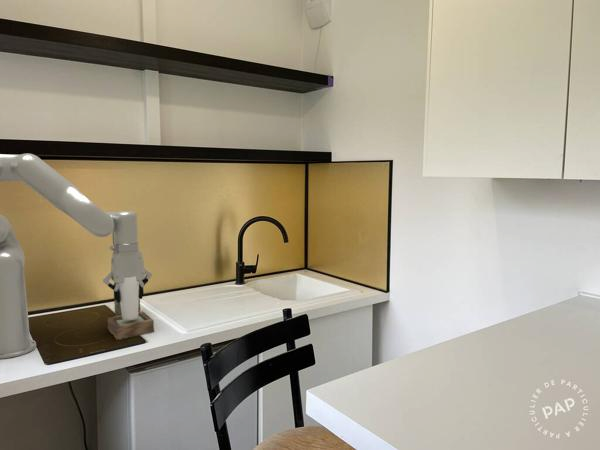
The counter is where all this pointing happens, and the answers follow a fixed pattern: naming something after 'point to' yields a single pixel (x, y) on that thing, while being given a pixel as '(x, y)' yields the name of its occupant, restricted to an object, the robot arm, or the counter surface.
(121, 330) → the wooden tray
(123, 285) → the drinking glass
